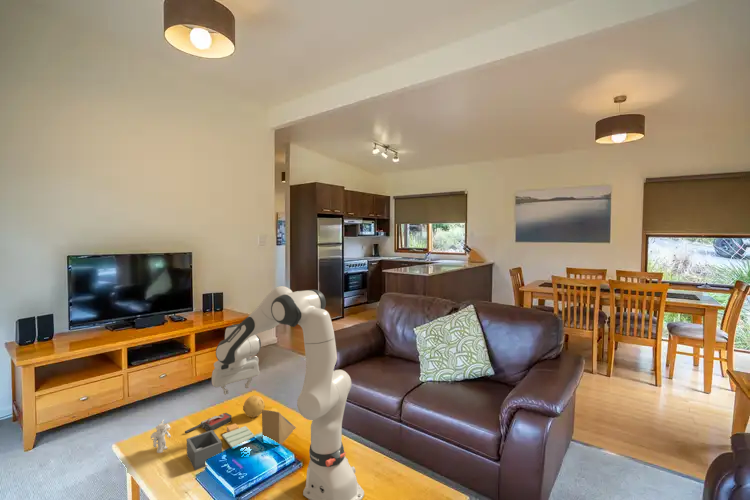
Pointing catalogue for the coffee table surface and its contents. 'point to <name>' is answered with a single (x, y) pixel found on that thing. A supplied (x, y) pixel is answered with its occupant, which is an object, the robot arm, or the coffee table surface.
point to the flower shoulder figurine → (160, 436)
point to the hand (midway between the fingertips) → (236, 390)
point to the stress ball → (253, 406)
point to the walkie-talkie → (214, 422)
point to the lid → (237, 434)
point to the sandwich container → (276, 426)
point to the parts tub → (203, 448)
